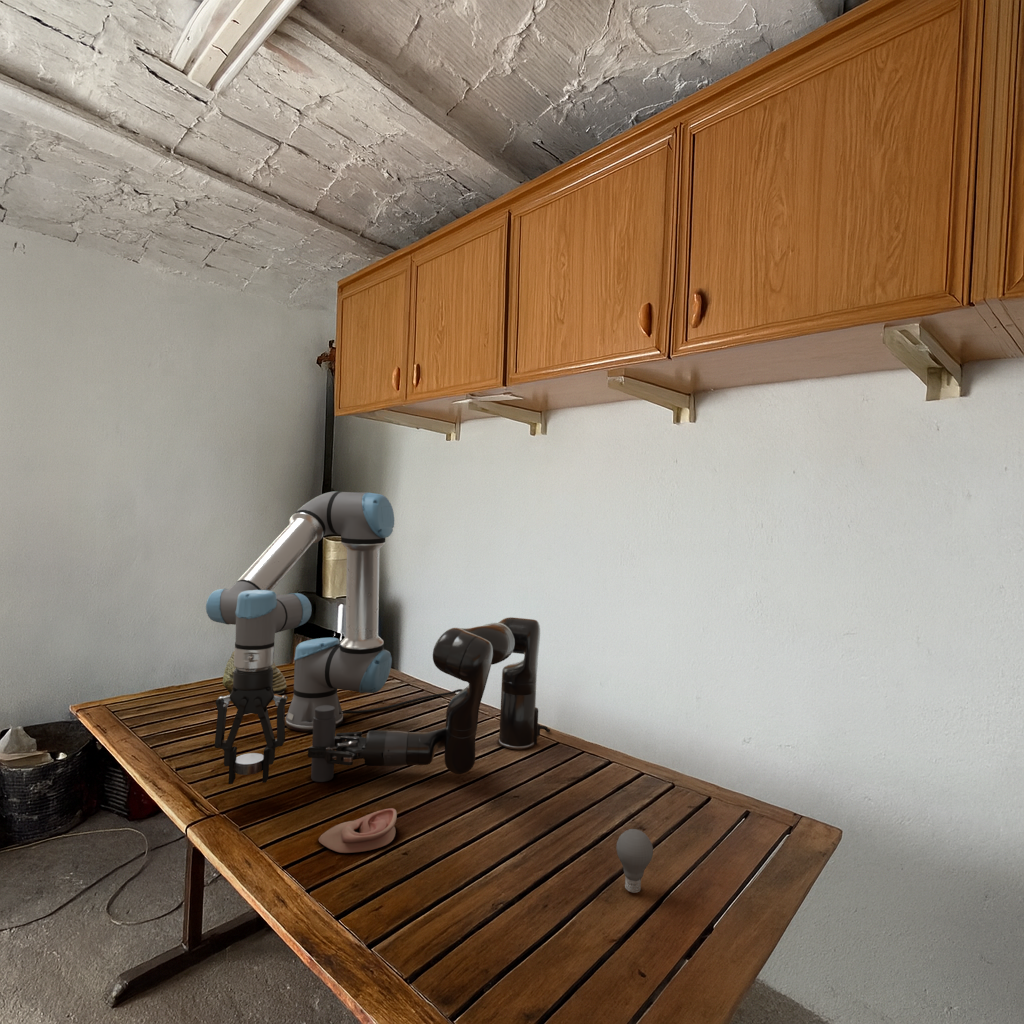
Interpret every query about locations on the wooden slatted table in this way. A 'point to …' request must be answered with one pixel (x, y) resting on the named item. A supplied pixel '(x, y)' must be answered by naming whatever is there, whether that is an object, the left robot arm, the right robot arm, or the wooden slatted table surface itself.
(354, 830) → the anatomical model
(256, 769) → the lid
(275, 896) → the wooden slatted table surface
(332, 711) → the dark grey cylinder
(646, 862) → the light bulb
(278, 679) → the fossil
